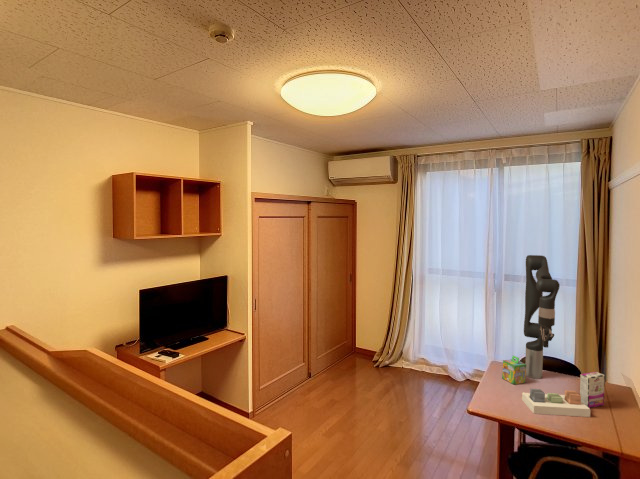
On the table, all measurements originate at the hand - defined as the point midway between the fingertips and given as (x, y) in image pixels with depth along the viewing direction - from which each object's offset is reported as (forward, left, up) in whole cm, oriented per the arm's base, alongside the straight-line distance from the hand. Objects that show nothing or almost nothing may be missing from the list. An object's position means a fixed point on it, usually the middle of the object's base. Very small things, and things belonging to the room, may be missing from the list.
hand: (545, 347), depth 197 cm
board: (+12, 0, -28) cm, 30 cm away
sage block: (+12, 0, -27) cm, 30 cm away
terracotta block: (+12, +8, -25) cm, 29 cm away
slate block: (+12, -9, -25) cm, 29 cm away
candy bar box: (+6, +21, -28) cm, 36 cm away
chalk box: (-19, -8, -28) cm, 35 cm away
